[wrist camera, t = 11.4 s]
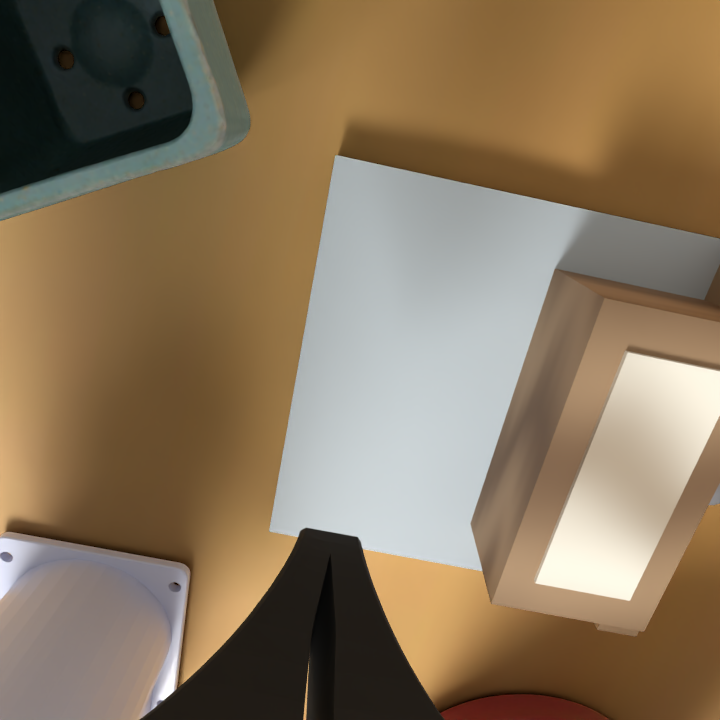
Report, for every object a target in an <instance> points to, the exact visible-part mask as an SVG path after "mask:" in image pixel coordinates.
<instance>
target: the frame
mask: <svg viewBox="0 0 720 720" xmlns="http://www.w3.org/2000/svg"><path fill="white" fill-rule="evenodd" d="M719 484H720V307H719V306H717V305H714V304H712V303H710V302H707V301H705V300H701V299H697V298H692V297H687V296H682V295H678V294H673V293H668V292H664V291H659V290H654V289H649V288H645V287H640V286H635V285H631V284H626V283H621V282H616V281H612V280H607V279H602V278H598V277H593V276H588V275H583V274H579V273H574V272H569V271H565V270H560V269H554V272H553V276H552V279H551V282H550V285H549V288H548V291H547V294H546V297H545V300H544V303H543V306H542V309H541V312H540V315H539V318H538V321H537V324H536V327H535V330H534V333H533V336H532V339H531V342H530V345H529V348H528V351H527V354H526V357H525V360H524V363H523V366H522V369H521V372H520V375H519V378H518V381H517V384H516V387H515V390H514V393H513V396H512V399H511V402H510V405H509V408H508V411H507V414H506V417H505V420H504V423H503V426H502V429H501V432H500V435H499V439H498V442H497V445H496V448H495V451H494V454H493V457H492V460H491V463H490V466H489V469H488V472H487V475H486V478H485V481H484V484H483V487H482V490H481V493H480V496H479V499H478V502H477V505H476V508H475V511H474V514H473V517H472V520H471V523H470V524H471V528H472V532H473V536H474V540H475V544H476V547H477V551H478V555H479V559H480V563H481V567H482V571H483V574H484V578H485V582H486V586H487V590H488V594H489V597H490V601H491V604H495V605H500V606H505V607H511V608H516V609H522V610H527V611H533V612H538V613H544V614H549V615H555V616H560V617H565V618H571V619H576V620H582V621H587V622H593V623H598V624H604V625H609V626H614V627H620V628H625V629H631V630H636V631H642V632H644V631H645V629H646V627H647V625H648V623H649V621H650V619H651V617H652V615H653V613H654V611H655V609H656V607H657V605H658V603H659V601H660V599H661V598H662V596H663V594H664V592H665V590H666V588H667V586H668V584H669V582H670V580H671V578H672V576H673V574H674V572H675V570H676V568H677V566H678V564H679V562H680V560H681V558H682V556H683V554H684V552H685V550H686V548H687V546H688V544H689V543H690V541H691V539H692V537H693V535H694V533H695V531H696V529H697V527H698V525H699V523H700V521H701V519H702V517H703V515H704V513H705V511H706V509H707V507H708V505H709V503H710V501H711V499H712V497H713V495H714V493H715V491H716V489H717V488H718V486H719Z"/></svg>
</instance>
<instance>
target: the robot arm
mask: <svg viewBox="0 0 720 720" xmlns="http://www.w3.org/2000/svg"><path fill="white" fill-rule="evenodd" d="M9 553H10V554H11V555H10V554H9ZM173 582H176V583H178V584H179V585H176V584H174V583H173ZM189 582H190V570H189V568H188V567H187V566H186V565H185V564H182V563H179V562H173V561H168V560H163V559H157V558H152V557H146V556H141V555H135V554H130V553H124V552H119V551H113V550H108V549H102V548H97V547H91V546H86V545H80V544H75V543H69V542H64V541H58V540H53V539H47V538H42V537H36V536H31V535H25V534H20V533H14V532H5V533H3V534H2V535H1V536H0V720H303V716H304V704H305V693H306V683H307V673H308V663H309V674H308V695H307V717H306V720H445V719H444V718H443V717H442V715H441V714H440V712H439V711H438V710H437V708H436V707H435V705H434V704H433V702H432V701H431V699H430V698H429V696H428V694H427V693H426V691H425V690H424V688H423V686H422V685H421V683H420V682H419V680H418V678H417V676H416V675H415V673H414V671H413V669H412V668H411V666H410V664H409V662H408V661H407V659H406V657H405V655H404V653H403V651H402V649H401V647H400V645H399V643H398V641H397V639H396V637H395V635H394V633H393V631H392V629H391V627H390V624H389V622H388V620H387V618H386V615H385V613H384V611H383V608H382V606H381V603H380V601H379V598H378V596H377V593H376V591H375V588H374V585H373V582H372V580H371V577H370V574H369V571H368V567H367V564H366V561H365V557H364V553H363V549H362V545H361V541H360V540H359V538H358V537H356V536H350V535H344V534H339V533H333V532H328V531H322V530H317V529H311V528H304V529H302V530H301V531H300V533H299V536H298V539H297V542H296V544H295V546H294V548H293V550H292V552H291V554H290V556H289V558H288V559H287V561H286V563H285V565H284V566H283V568H282V570H281V571H280V573H279V574H278V576H277V577H276V579H275V580H274V582H273V583H272V585H271V587H270V588H269V589H268V591H267V592H266V594H265V595H264V596H263V597H262V599H261V600H260V601H259V603H258V604H257V605H256V607H255V608H254V609H253V611H252V612H251V613H250V615H249V616H248V617H247V618H246V619H245V621H244V622H243V623H242V624H241V625H240V627H239V628H238V629H237V630H236V631H235V632H234V634H233V635H232V636H231V637H230V638H229V639H228V640H227V641H226V642H225V643H224V645H223V646H222V647H221V648H220V649H219V650H218V651H217V652H216V653H215V654H214V655H213V656H212V657H211V658H210V659H209V660H208V661H207V662H206V663H205V664H204V665H203V666H202V667H201V668H200V669H199V670H198V671H197V672H195V673H194V674H193V675H192V676H191V677H190V678H189V679H188V680H187V681H186V682H184V683H183V684H182V685H181V686H180V687H179V688H177V683H178V675H179V666H180V658H181V650H182V641H183V633H184V624H185V616H186V607H187V599H188V591H189ZM309 653H310V654H309Z"/></svg>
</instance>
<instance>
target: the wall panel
mask: <svg viewBox="0 0 720 720" xmlns="http://www.w3.org/2000/svg"><path fill="white" fill-rule="evenodd" d="M554 269H560V270H565V271H569V272H574V273H579V274H583V275H588V276H593V277H598V278H602V279H607V280H612V281H616V282H621V283H626V284H631V285H635V286H640V287H645V288H649V289H654V290H659V291H664V292H668V293H673V294H678V295H682V296H687V297H692V298H697V299H701V300H705V301H707V302H710V303H712V304H714V305H717V306H719V307H720V238H715V237H711V236H706V235H701V234H697V233H692V232H688V231H683V230H678V229H674V228H669V227H665V226H660V225H655V224H651V223H646V222H642V221H637V220H633V219H628V218H623V217H619V216H614V215H610V214H605V213H600V212H596V211H591V210H587V209H582V208H577V207H573V206H568V205H564V204H559V203H554V202H550V201H545V200H541V199H536V198H532V197H527V196H522V195H518V194H513V193H509V192H504V191H499V190H495V189H490V188H486V187H481V186H476V185H472V184H467V183H463V182H458V181H453V180H449V179H444V178H440V177H435V176H430V175H426V174H421V173H417V172H412V171H408V170H403V169H398V168H394V167H389V166H385V165H380V164H375V163H371V162H366V161H362V160H357V159H352V158H348V157H343V156H339V155H335V160H334V165H333V171H332V177H331V183H330V188H329V194H328V200H327V205H326V211H325V217H324V222H323V228H322V234H321V239H320V245H319V251H318V256H317V262H316V268H315V273H314V279H313V285H312V290H311V296H310V302H309V307H308V313H307V319H306V324H305V330H304V336H303V342H302V347H301V353H300V359H299V364H298V370H297V376H296V381H295V387H294V393H293V398H292V404H291V410H290V415H289V421H288V427H287V432H286V438H285V444H284V449H283V455H282V461H281V466H280V472H279V478H278V484H277V489H276V495H275V501H274V506H273V512H272V518H271V523H270V529H269V532H275V533H280V534H285V535H291V536H296V537H298V536H299V533H300V531H301V530H302V529H304V528H311V529H317V530H322V531H328V532H333V533H339V534H344V535H350V536H356V537H358V538H359V540H360V541H361V545H362V549H366V550H371V551H377V552H382V553H387V554H393V555H398V556H403V557H409V558H414V559H420V560H425V561H430V562H436V563H441V564H446V565H452V566H457V567H463V568H468V569H473V570H479V571H482V567H481V563H480V559H479V555H478V551H477V547H476V544H475V540H474V536H473V532H472V528H471V524H470V523H471V520H472V517H473V514H474V511H475V508H476V505H477V502H478V499H479V496H480V493H481V490H482V487H483V484H484V481H485V478H486V475H487V472H488V469H489V466H490V463H491V460H492V457H493V454H494V451H495V448H496V445H497V442H498V439H499V435H500V432H501V429H502V426H503V423H504V420H505V417H506V414H507V411H508V408H509V405H510V402H511V399H512V396H513V393H514V390H515V387H516V384H517V381H518V378H519V375H520V372H521V369H522V366H523V363H524V360H525V357H526V354H527V351H528V348H529V345H530V342H531V339H532V336H533V333H534V330H535V327H536V324H537V321H538V318H539V315H540V312H541V309H542V306H543V303H544V300H545V297H546V294H547V291H548V288H549V285H550V282H551V279H552V276H553V272H554ZM719 503H720V484H719V486H718V488H717V489H716V491H715V493H714V495H713V497H712V499H711V501H710V503H709V505H715V504H719ZM594 624H595V627H596V629H597V630H602V631H607V632H613V633H618V634H624V635H629V636H635V637H636V636H637V634H638V632H639V631H636V630H631V629H625V628H620V627H614V626H609V625H604V624H598V623H594Z"/></svg>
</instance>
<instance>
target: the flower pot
mask: <svg viewBox="0 0 720 720" xmlns="http://www.w3.org/2000/svg"><path fill="white" fill-rule="evenodd" d="M160 16H165V19H166V22H167V25H168V28H169V31H170V33H169V34H168V35H166V36H164V35H160V34H159V33H158V32H157V30H156V27H155V22H156V20H157V18H158V17H160ZM62 50H68V51H70V52H71V53H72V55H73V57H74V64H73V66H72V67H71V68H70V69H64V68H63V67H61V66H60V64H59V62H58V55H59V53H60V51H62ZM132 92H139V93H141V94H142V95H143V97H144V105H143V106H142V107H141V108H140V109H134V108H132V107H131V106H130V104H129V102H128V97H129V95H130V93H132ZM249 129H250V114H249V110H248V106H247V103H246V100H245V97H244V93H243V90H242V87H241V84H240V81H239V78H238V75H237V72H236V69H235V66H234V63H233V60H232V57H231V54H230V51H229V47H228V44H227V41H226V38H225V35H224V32H223V29H222V26H221V23H220V20H219V17H218V13H217V10H216V7H215V4H214V1H213V0H0V221H2V220H5V219H8V218H11V217H14V216H18V215H21V214H24V213H27V212H31V211H34V210H37V209H41V208H44V207H47V206H50V205H53V204H56V203H59V202H62V201H65V200H68V199H71V198H75V197H78V196H81V195H84V194H87V193H90V192H93V191H97V190H100V189H103V188H106V187H109V186H112V185H115V184H118V183H122V182H125V181H128V180H131V179H134V178H137V177H140V176H144V175H147V174H151V173H154V172H157V171H160V170H166V169H169V168H173V167H176V166H179V165H182V164H185V163H188V162H191V161H195V160H198V159H201V158H204V157H207V156H210V155H213V154H216V153H218V152H221V151H224V150H226V149H228V148H230V147H232V146H234V145H236V144H238V143H239V142H241V141H242V140H243V139H244V138H245V137H246V135H247V134H248V131H249Z"/></svg>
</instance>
